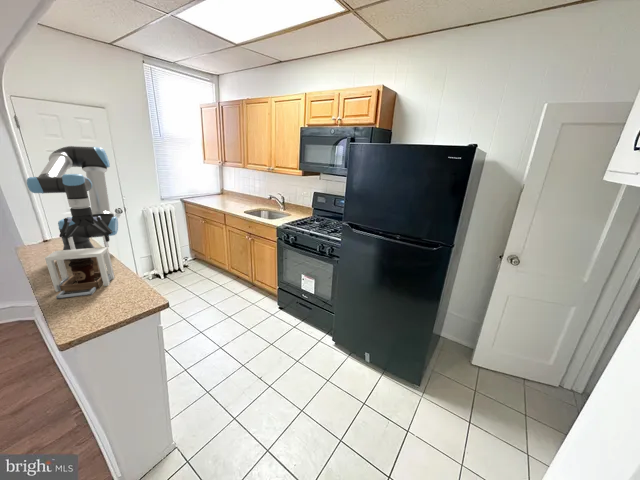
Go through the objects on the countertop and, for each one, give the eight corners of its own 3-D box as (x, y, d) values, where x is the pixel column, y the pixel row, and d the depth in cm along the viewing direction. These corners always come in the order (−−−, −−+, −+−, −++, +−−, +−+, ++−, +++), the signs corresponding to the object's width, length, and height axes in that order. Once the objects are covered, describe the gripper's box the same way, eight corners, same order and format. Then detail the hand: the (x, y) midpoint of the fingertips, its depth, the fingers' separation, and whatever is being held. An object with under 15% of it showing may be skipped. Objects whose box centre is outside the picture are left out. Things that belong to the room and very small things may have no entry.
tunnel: (65, 282, 125) (55, 250, 120) (114, 277, 132) (107, 246, 127) (55, 291, 117) (44, 257, 112) (108, 285, 124) (100, 253, 119)
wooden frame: (81, 273, 134) (76, 255, 131) (113, 270, 139) (109, 252, 136) (61, 292, 116) (55, 271, 113) (99, 287, 121) (94, 268, 118)
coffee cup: (84, 289, 120) (77, 263, 116) (69, 287, 121) (62, 261, 117) (102, 281, 128) (96, 256, 124) (89, 279, 129) (82, 254, 125)
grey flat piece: (62, 293, 116) (61, 290, 115) (96, 289, 120) (95, 287, 120) (56, 299, 111) (56, 296, 111) (91, 295, 116) (91, 292, 115)
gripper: (41, 209, 117) (54, 253, 123) (109, 207, 126) (118, 248, 132) (50, 206, 123) (62, 248, 130) (114, 205, 132) (122, 244, 139)
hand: (90, 249), depth 131 cm, fingers open, 13 cm apart
